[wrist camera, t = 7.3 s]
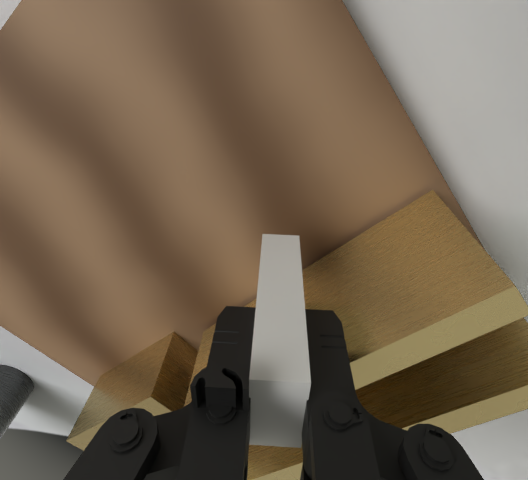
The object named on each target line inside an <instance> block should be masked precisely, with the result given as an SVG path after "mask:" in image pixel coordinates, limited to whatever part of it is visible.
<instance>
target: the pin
mask: <svg viewBox="0 0 528 480" xmlns="http://www.w3.org/2000/svg"><path fill="white" fill-rule="evenodd" d="M33 389H34V385H33V382H32V381H31V379H30V378H29V377H28V376H27V375H25V374H24V373H23V372H21V371H19V370H17V369H15V368H12V367H9V366H5V365H0V439H1V437H2V436H3V434H4V433H5V431H6V430H7V428H8V427H9V425H10V424H11V422H12V421H13V419H14V418H15V417H16V415H17V414H18V412H19V411H20V409H21V408H22V406H23V405H24V403H25V402H26V400H27V399H28V397H29V396H30V394H31V393H32V391H33Z"/></svg>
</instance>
